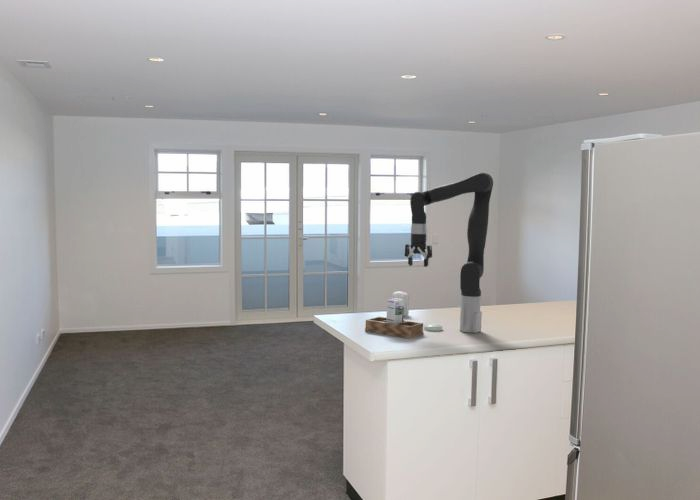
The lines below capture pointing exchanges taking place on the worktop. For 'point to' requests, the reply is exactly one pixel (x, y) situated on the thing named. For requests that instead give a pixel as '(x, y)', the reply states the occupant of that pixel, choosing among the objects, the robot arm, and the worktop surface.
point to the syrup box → (395, 311)
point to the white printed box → (404, 297)
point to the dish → (433, 327)
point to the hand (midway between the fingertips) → (418, 266)
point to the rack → (394, 327)
